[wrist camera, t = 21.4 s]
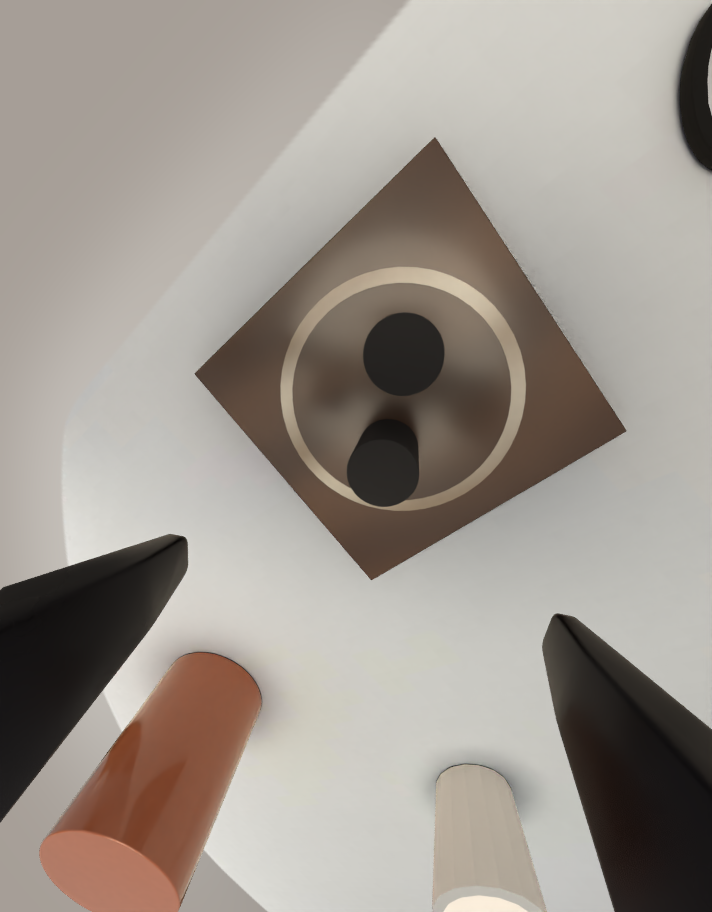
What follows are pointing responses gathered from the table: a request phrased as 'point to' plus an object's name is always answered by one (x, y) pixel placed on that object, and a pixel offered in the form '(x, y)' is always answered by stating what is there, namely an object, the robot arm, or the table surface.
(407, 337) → the dot
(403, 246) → the board
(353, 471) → the dot
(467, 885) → the off-white cylinder
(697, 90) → the scissors
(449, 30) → the table surface
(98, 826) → the pedestal
